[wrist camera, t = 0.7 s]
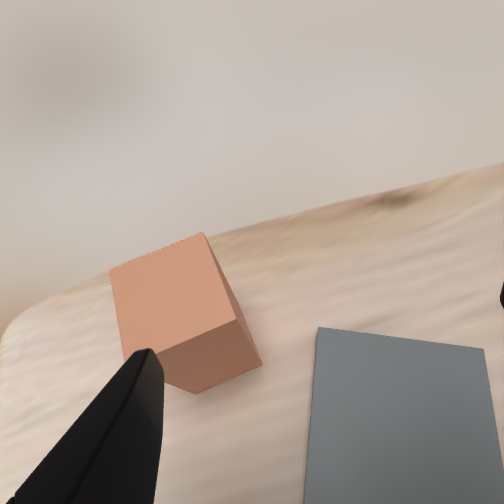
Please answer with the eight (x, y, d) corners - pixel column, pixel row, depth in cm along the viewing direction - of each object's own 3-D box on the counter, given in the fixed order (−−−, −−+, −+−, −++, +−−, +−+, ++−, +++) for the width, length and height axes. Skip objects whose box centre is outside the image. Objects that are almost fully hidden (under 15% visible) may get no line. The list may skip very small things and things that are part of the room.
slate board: (513, 612, 15) (529, 625, 14) (299, 551, 17) (299, 559, 16) (474, 353, 21) (483, 348, 20) (317, 331, 23) (318, 326, 22)
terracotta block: (262, 364, 22) (236, 318, 14) (195, 394, 22) (125, 366, 13) (237, 302, 25) (202, 231, 16) (177, 328, 24) (109, 269, 16)
